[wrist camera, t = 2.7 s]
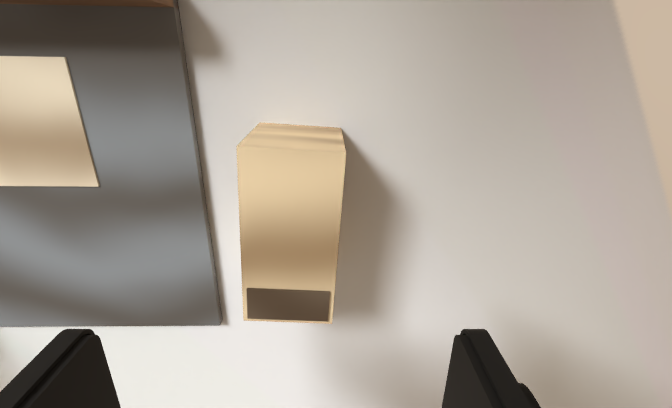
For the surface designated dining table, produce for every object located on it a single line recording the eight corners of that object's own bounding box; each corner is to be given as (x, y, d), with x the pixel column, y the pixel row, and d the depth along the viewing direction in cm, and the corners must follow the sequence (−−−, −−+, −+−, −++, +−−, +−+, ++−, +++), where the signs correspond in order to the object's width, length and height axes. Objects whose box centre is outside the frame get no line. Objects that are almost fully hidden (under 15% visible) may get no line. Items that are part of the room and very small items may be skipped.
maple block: (260, 122, 17) (235, 147, 13) (340, 127, 18) (346, 153, 13) (262, 260, 20) (243, 322, 16) (330, 263, 21) (332, 325, 16)
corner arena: (-249, -29, 14) (-386, -48, 12) (174, -19, 15) (140, -36, 12) (-60, 321, 21) (-118, 360, 19) (222, 319, 22) (207, 357, 19)
